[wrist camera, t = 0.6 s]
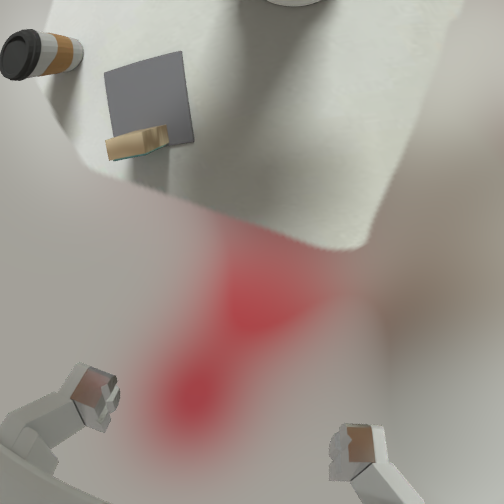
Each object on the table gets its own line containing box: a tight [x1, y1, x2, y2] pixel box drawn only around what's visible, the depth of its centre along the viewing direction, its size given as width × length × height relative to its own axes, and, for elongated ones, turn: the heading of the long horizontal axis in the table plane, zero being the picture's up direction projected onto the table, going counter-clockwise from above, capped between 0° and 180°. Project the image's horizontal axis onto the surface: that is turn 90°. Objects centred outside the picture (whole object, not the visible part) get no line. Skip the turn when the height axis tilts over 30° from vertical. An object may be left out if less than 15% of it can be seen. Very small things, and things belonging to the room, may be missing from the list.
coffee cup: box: [0, 29, 83, 81], centre depth 34 cm, size 8×8×15 cm
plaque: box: [105, 125, 169, 161], centre depth 43 cm, size 3×6×9 cm, turn 96°
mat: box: [104, 51, 194, 147], centre depth 45 cm, size 15×14×1 cm
